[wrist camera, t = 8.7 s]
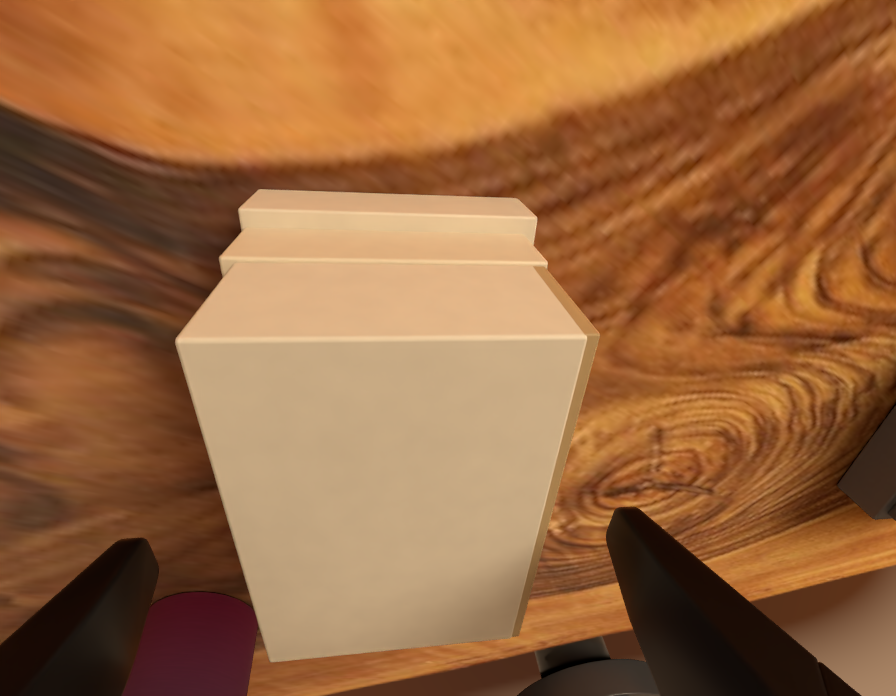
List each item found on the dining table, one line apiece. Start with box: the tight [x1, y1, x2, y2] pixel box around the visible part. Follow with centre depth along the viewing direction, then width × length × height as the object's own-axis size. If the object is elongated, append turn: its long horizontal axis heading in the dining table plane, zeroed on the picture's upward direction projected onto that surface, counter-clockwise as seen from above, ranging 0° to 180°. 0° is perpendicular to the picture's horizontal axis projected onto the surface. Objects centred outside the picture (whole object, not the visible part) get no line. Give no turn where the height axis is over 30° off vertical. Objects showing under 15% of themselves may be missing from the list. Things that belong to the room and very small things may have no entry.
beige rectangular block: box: [175, 262, 600, 662], centre depth 10 cm, size 9×6×3 cm
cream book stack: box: [219, 189, 548, 277], centre depth 13 cm, size 10×7×4 cm
